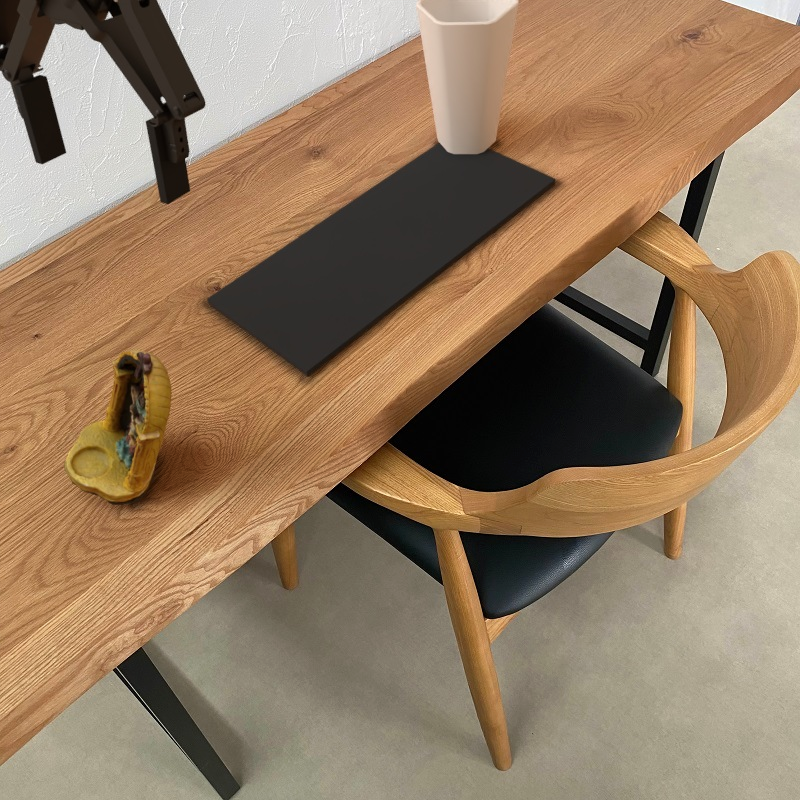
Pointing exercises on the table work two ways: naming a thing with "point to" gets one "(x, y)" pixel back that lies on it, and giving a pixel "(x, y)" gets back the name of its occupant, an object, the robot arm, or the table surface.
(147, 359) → the yellow ribbed rounded piece
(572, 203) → the table surface
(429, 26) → the cup
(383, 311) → the shoe mat
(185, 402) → the table surface
